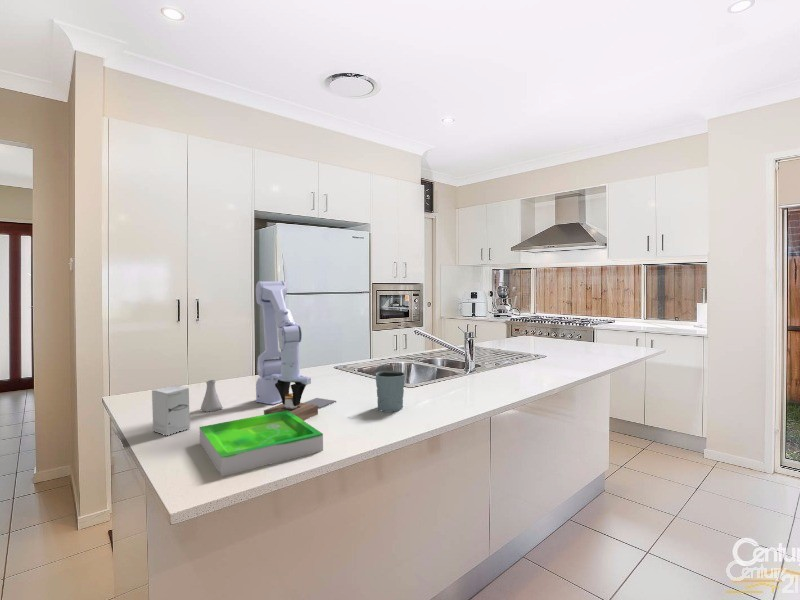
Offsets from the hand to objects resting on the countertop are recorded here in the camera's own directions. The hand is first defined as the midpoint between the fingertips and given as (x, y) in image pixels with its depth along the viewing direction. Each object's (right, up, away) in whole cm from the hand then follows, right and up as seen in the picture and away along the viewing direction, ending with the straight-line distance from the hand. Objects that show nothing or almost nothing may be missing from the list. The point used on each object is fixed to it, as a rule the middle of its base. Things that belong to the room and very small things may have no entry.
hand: (291, 404), depth 140 cm
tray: (-2, -6, -25) cm, 26 cm away
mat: (+6, -3, +15) cm, 17 cm away
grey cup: (+32, -4, +9) cm, 34 cm away
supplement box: (-33, -5, -12) cm, 35 cm away
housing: (0, -4, 0) cm, 4 cm away
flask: (-30, -4, +10) cm, 32 cm away
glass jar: (0, -4, 0) cm, 4 cm away
